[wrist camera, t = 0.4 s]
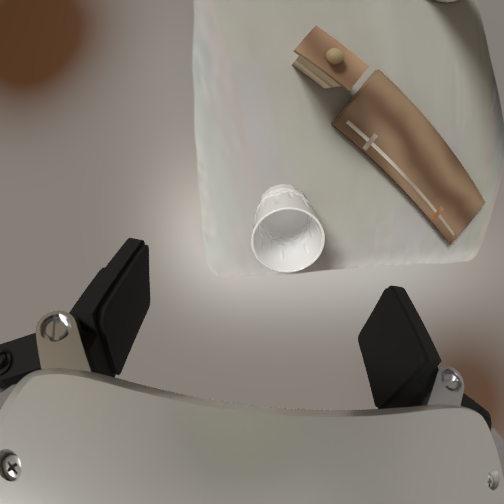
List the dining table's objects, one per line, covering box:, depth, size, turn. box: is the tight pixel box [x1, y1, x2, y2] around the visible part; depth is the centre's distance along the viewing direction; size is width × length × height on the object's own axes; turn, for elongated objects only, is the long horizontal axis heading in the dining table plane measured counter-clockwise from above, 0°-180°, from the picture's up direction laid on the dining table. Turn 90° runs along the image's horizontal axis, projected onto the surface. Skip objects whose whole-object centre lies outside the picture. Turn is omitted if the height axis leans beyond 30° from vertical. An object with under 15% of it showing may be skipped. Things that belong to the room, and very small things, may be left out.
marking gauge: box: [292, 26, 369, 91], centre depth 24 cm, size 4×6×10 cm, turn 55°
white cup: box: [251, 184, 325, 273], centre depth 34 cm, size 8×8×10 cm
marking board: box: [332, 70, 485, 244], centre depth 33 cm, size 10×28×2 cm, turn 55°
